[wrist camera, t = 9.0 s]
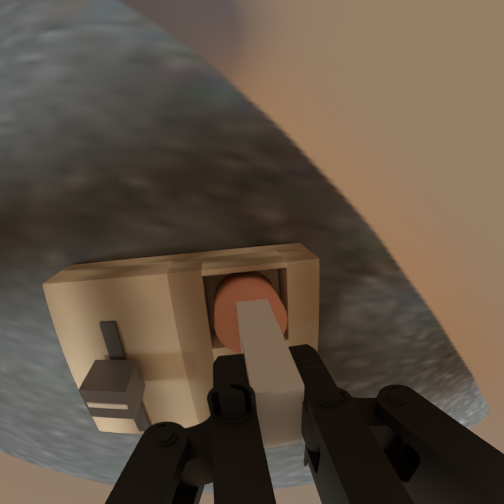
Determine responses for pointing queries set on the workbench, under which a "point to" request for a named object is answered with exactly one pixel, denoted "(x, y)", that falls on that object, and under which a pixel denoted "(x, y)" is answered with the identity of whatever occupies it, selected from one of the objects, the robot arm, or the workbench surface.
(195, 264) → the console
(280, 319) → the button
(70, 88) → the workbench surface
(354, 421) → the robot arm
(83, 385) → the fader knob
